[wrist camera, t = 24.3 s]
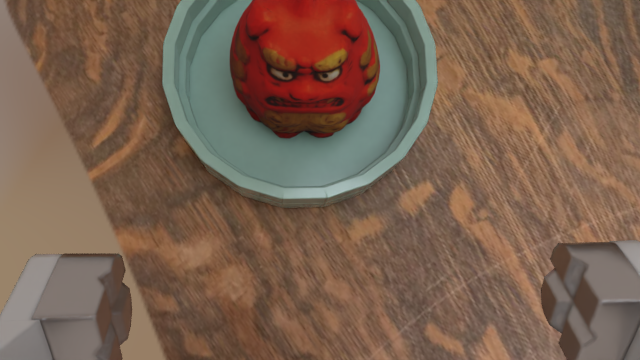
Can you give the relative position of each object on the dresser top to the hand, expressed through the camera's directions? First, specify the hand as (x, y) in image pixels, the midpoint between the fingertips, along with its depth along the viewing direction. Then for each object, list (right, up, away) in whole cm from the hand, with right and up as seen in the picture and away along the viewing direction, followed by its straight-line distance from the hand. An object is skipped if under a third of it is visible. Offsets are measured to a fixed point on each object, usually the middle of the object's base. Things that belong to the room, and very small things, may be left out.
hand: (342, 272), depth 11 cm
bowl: (-2, +7, +23) cm, 24 cm away
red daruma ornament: (-1, +7, +23) cm, 24 cm away
